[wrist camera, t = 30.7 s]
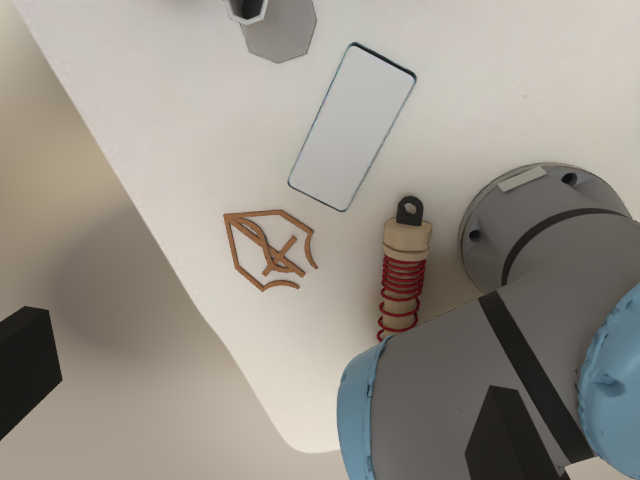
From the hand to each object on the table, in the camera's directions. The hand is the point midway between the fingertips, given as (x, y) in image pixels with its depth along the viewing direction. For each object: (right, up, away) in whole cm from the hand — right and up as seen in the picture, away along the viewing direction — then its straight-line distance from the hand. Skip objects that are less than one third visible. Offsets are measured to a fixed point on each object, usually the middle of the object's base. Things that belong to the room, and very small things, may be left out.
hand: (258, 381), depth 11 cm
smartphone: (+5, +15, +27) cm, 31 cm away
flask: (-2, +24, +24) cm, 34 cm away
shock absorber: (+10, -19, +38) cm, 44 cm away
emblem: (-4, +4, +33) cm, 33 cm away
